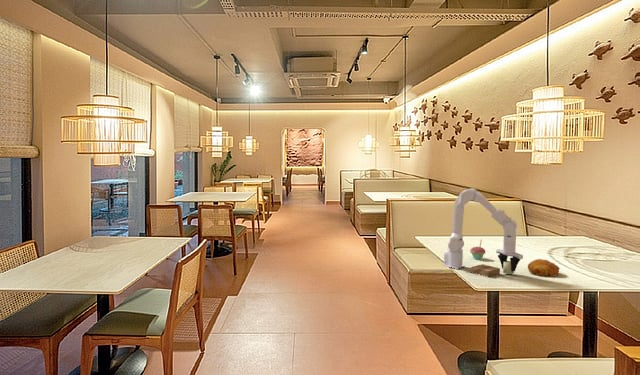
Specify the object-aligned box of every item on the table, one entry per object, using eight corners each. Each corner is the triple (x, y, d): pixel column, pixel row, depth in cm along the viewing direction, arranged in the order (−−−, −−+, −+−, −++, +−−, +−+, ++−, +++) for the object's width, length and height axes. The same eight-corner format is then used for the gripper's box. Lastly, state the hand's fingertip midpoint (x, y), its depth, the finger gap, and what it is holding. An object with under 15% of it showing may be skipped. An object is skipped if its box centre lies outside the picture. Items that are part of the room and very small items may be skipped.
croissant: (523, 277, 217) (522, 262, 216) (534, 267, 228) (533, 253, 227) (554, 282, 207) (553, 267, 206) (563, 272, 218) (563, 257, 216)
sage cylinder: (501, 272, 215) (501, 261, 215) (506, 270, 218) (507, 260, 218) (510, 274, 211) (510, 263, 211) (515, 272, 214) (516, 262, 214)
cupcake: (481, 257, 252) (482, 237, 251) (487, 260, 244) (488, 240, 243) (467, 257, 252) (468, 237, 251) (473, 260, 243) (473, 240, 242)
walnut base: (471, 272, 218) (471, 267, 218) (482, 269, 224) (482, 264, 223) (488, 277, 210) (488, 271, 210) (499, 273, 216) (500, 268, 215)
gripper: (492, 241, 218) (491, 267, 219) (516, 247, 205) (515, 274, 206) (501, 240, 221) (500, 265, 222) (526, 245, 209) (525, 272, 210)
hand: (508, 269), depth 215 cm, fingers closed on sage cylinder, 5 cm apart
